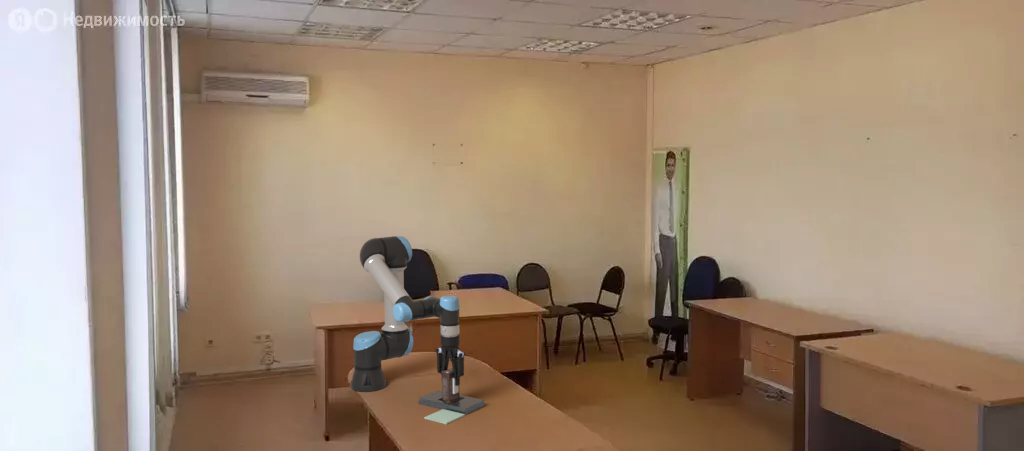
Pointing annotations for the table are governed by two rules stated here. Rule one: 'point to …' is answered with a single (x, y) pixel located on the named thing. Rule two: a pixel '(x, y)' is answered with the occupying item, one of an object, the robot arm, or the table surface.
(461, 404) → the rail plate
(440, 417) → the pad
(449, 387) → the box
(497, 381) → the table surface
